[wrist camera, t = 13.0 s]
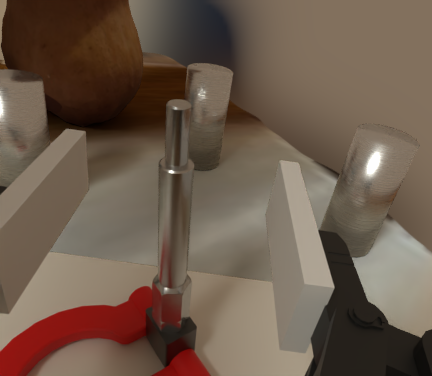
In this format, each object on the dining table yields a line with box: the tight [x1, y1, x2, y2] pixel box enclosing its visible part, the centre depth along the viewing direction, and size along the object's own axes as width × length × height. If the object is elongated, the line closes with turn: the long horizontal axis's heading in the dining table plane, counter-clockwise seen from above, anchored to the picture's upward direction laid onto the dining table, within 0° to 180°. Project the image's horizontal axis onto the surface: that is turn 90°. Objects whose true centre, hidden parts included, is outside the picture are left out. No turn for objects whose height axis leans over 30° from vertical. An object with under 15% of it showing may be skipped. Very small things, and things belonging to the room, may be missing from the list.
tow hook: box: [0, 99, 211, 376], centre depth 13 cm, size 8×13×9 cm
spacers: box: [0, 63, 419, 257], centre depth 27 cm, size 23×20×9 cm
